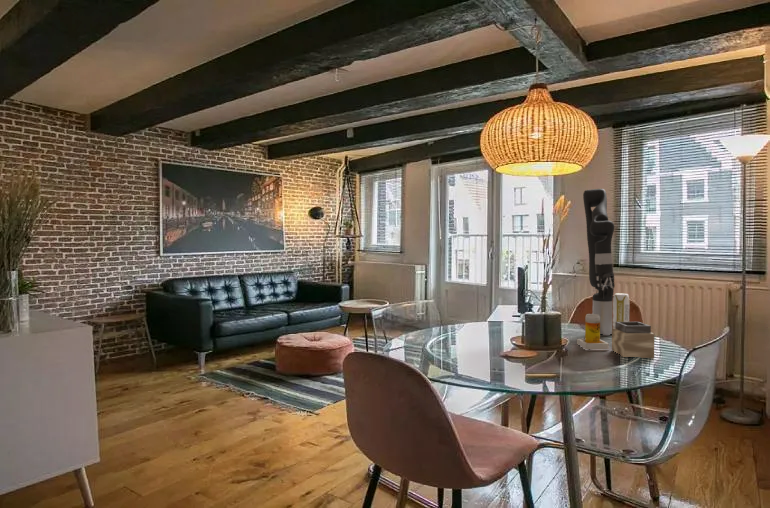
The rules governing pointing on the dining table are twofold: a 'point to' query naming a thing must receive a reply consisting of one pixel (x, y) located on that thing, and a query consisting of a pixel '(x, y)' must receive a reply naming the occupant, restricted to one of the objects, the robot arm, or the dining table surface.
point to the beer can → (592, 328)
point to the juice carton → (620, 308)
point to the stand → (633, 339)
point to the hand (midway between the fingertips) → (605, 297)
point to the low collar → (593, 344)
